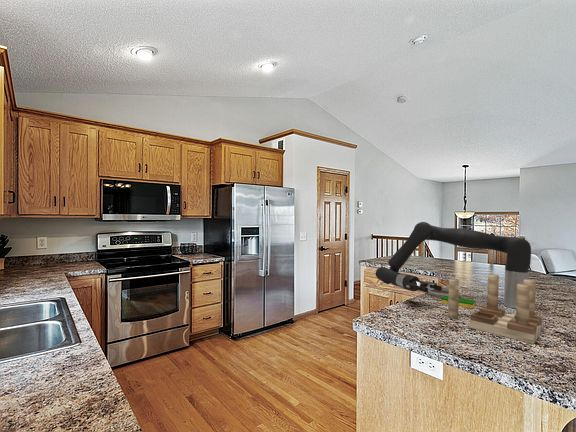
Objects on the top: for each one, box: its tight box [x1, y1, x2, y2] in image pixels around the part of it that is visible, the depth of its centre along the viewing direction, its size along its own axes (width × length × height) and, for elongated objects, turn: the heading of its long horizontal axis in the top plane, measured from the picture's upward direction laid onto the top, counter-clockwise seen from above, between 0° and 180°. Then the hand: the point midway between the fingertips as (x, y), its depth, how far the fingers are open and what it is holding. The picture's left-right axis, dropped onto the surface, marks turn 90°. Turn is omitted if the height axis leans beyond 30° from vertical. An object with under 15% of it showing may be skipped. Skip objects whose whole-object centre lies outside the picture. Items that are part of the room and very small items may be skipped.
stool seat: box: [468, 273, 544, 345], centre depth 122 cm, size 20×20×19 cm
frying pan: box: [426, 284, 460, 298], centre depth 177 cm, size 17×3×28 cm
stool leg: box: [447, 278, 460, 320], centre depth 134 cm, size 4×4×16 cm
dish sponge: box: [440, 296, 476, 309], centre depth 155 cm, size 7×14×2 cm, turn 52°
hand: (434, 289), depth 143 cm, fingers open, 8 cm apart
